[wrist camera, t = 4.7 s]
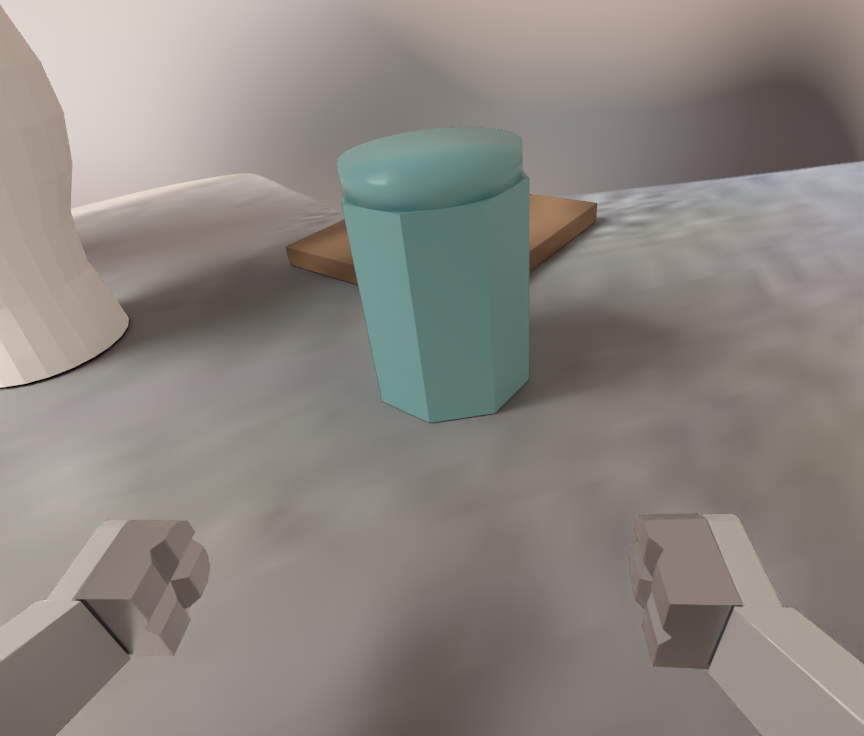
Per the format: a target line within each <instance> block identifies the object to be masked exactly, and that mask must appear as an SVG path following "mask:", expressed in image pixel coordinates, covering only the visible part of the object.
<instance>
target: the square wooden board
mask: <svg viewBox="0 0 864 736" xmlns="http://www.w3.org/2000/svg"><path fill="white" fill-rule="evenodd" d="M596 211H597V203H593V202H585V201H578V200H570V199H562V198H554V197H547V196H538V195H531V194H529V272H530V271H531V270H533V269H534V268H535V267H537V266H538V265H539V264H541V263H542V262H543V261H545V260H546V259H547V258H548V257H550V256H551V255H552V254H554V253H555V252H556V251H558V250H559V249H560V248H562V247H563V246H564V245H566V244H567V243H568V242H569V241H571V240H572V239H573V238H575V237H576V236H577V235H579V234H580V233H581V232H583V231H584V230H585V229H586V228H588V227H589V226H590V225H592V224H593V223H594V222H596ZM286 250H287V253H288V257H289V260H290V264H291V265H294V266H297V267H301V268H304V269H307V270H310V271H314V272H317V273H320V274H324V275H327V276H330V277H334V278H337V279H340V280H344V281H347V282H350V283H353V284H357V285H358V282H357V277H356V272H355V267H354V262H353V258H352V253H351V248H350V243H349V238H348V233H347V228H346V224H345V219H344V220H342V221H340V222H338V223H336V224H334V225H332V226H329V227H327V228H325V229H323V230H321V231H319V232H316V233H314V234H312V235H310V236H308V237H306V238H303V239H301V240H299V241H297V242H295V243H293V244H291V245H288V246H286Z"/></svg>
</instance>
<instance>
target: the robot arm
mask: <svg viewBox="0 0 864 736" xmlns="http://www.w3.org/2000/svg"><path fill="white" fill-rule="evenodd" d="M634 531H635V534H636V538H637V541H636V542H634V543H633V544H632V545H631V548H630V556H629V563H630V577H631V583H632V588H633V592H634V596H635V600H636V601H637V602H638V603H639V604H640V605H641V606H642V607H643V608H644V609H645V615H644V619H643V624H642V627H643V631H644V635H645V639H646V642H647V646H648V650H649V654H650V658H651V661H652V665H653V666H656V667H676V668H697V669H709V670H708V673H709V674H710V675H711V676H712V677H713V679H714V680H715V681H716V682H717V683H718V684H719V686H720V687H721V688H722V689H723V690H724V691H725V693H726V694H727V695H728V696H729V697H730V699H731V700H732V701H733V702H734V703H735V704H736V706H737V707H738V708H739V709H740V710H741V711H742V713H743V714H744V715H745V716H746V717H747V718H748V720H749V721H750V722H751V723H752V724H753V726H754V727H755V728H756V729H757V730H758V731H759V733H760V734H761V735H762V736H864V664H863V663H862V662H861V661H859V660H858V659H857V658H856V657H854V656H853V655H852V654H851V653H850V652H848V651H847V650H846V649H845V648H843V647H842V646H841V645H840V644H838V643H837V642H836V641H835V640H833V639H832V638H831V637H830V636H828V635H827V634H826V633H825V632H824V631H822V630H821V629H820V628H819V627H817V626H816V625H815V624H814V623H812V622H811V621H810V620H809V619H807V618H806V617H805V616H804V615H802V614H801V613H800V612H799V611H797V610H796V609H795V608H793V607H783V605H782V603H781V601H780V599H779V597H778V595H777V593H776V591H775V589H774V587H773V585H772V583H771V581H770V579H769V577H768V575H767V573H766V571H765V569H764V567H763V565H762V563H761V561H760V559H759V557H758V555H757V553H756V551H755V549H754V547H753V545H752V543H751V541H750V539H749V537H748V535H747V533H746V531H745V529H744V527H743V525H742V523H741V521H740V519H739V518H737V517H736V516H735V515H734V514H700V515H699V514H698V513H696V514H655V515H638V517H637V518H636V521H635V526H634ZM194 533H195V531H194V529H193V528H192V526H191V525H190V523H189V522H188V521H169V520H107V521H106V522H104V523H103V524H101V525H100V526H98V527H97V529H96V530H95V532H94V533H93V534H92V536H91V537H90V539H89V540H88V541H87V543H86V544H85V546H84V547H83V548H82V550H81V551H80V553H79V554H78V555H77V557H76V558H75V560H74V561H73V562H72V564H71V565H70V567H69V568H68V570H67V571H66V572H65V574H64V575H63V577H62V578H61V579H60V581H59V582H58V584H57V585H56V586H55V588H54V589H53V591H52V592H51V593H50V595H49V596H48V598H47V599H46V600H38V601H36V602H35V603H34V604H32V605H31V606H29V607H28V608H26V609H25V610H24V611H22V612H21V613H19V614H18V615H17V616H15V617H14V618H12V619H11V620H10V621H8V622H7V623H5V624H4V625H3V626H1V627H0V736H56V734H57V733H58V732H59V731H60V730H61V729H62V728H63V727H64V726H65V725H66V724H67V723H68V722H69V721H70V720H71V719H72V718H73V717H74V716H75V715H76V714H77V713H78V712H79V711H80V710H81V709H82V708H83V707H84V706H85V705H86V704H87V703H88V702H89V701H90V700H91V699H92V698H93V697H94V696H95V695H96V694H97V693H98V692H99V691H100V690H101V689H102V687H103V686H104V685H105V684H106V683H107V682H108V681H109V680H110V679H111V678H112V677H113V676H114V675H115V674H116V673H117V672H118V671H119V670H120V669H121V668H122V667H123V666H124V665H125V664H126V663H127V662H128V661H129V660H130V657H129V656H174V655H175V653H176V651H177V649H178V646H179V644H180V642H181V640H182V638H183V636H184V633H185V631H186V629H187V627H188V625H189V622H190V620H191V618H190V614H189V609H188V608H189V607H190V606H191V605H192V604H193V603H195V602H196V601H197V600H198V599H199V598H200V597H201V596H202V594H203V591H204V589H205V587H206V584H207V582H208V576H209V569H210V563H209V558H208V554H207V552H206V550H205V548H204V547H203V546H202V545H200V544H199V543H197V542H195V541H194V540H192V537H193V535H194Z"/></svg>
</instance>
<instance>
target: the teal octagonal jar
mask: <svg viewBox="0 0 864 736" xmlns="http://www.w3.org/2000/svg"><path fill="white" fill-rule="evenodd" d="M337 167H338V172H339V176H340V182H341V187H342V191H343V196H342V209H343V214H344V219H345V224H346V228H347V233H348V238H349V243H350V248H351V253H352V258H353V262H354V267H355V272H356V277H357V282H358V287H359V292H360V296H361V301H362V306H363V311H364V316H365V321H366V326H367V330H368V335H369V340H370V345H371V350H372V355H373V360H374V364H375V369H376V374H377V379H378V384H379V389H380V394H381V398H382V401H383V402H386V403H388V404H390V405H392V406H394V407H396V408H399V409H401V410H403V411H405V412H407V413H409V414H411V415H414V416H416V417H418V418H420V419H422V420H424V421H427V422H429V423H433V422H440V421H446V420H453V419H460V418H467V417H473V416H480V415H487V414H493V413H496V412H497V411H498V410H499V409H500V408H501V407H502V406H503V405H504V404H505V403H506V402H507V401H508V400H509V399H510V398H511V397H512V396H513V395H514V394H515V393H516V392H517V391H518V390H519V389H520V388H521V387H522V386H523V385H524V384H525V383H526V382H527V381H528V380H529V177H528V176H527V175H526V174H525V173H524V172H523V171H522V139H521V137H520V136H518V135H517V134H515V133H512V132H509V131H505V130H501V129H494V128H485V127H451V128H437V129H428V130H421V131H413V132H407V133H401V134H397V135H392V136H387V137H383V138H380V139H376V140H373V141H370V142H366V143H363V144H361V145H358V146H356V147H354V148H351V149H349V150H348V151H346V152H344V153H343V154H342V155H341V156H340V157H339V158H338V160H337Z"/></svg>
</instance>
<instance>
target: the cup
mask: <svg viewBox="0 0 864 736" xmlns="http://www.w3.org/2000/svg"><path fill="white" fill-rule="evenodd" d="M71 184H72V159H71V153H70V147H69V142H68V136H67V131H66V124H65V118H64V112H63V110H62V108H61V105H60V103H59V101H58V99H57V97H56V95H55V93H54V90H53V88H52V86H51V84H50V81H49V79H48V77H47V75H46V73H45V71H44V69H43V66H42V64H41V62H40V60H39V59H38V58H37V56H36V55H35V53H34V52H33V51H32V49H31V48H30V46H29V45H28V43H27V42H26V41H25V39H24V38H23V36H22V35H21V34H20V32H19V31H18V29H17V28H16V27H15V25H14V24H13V23H12V21H11V20H10V18H9V17H8V15H7V14H6V13H5V11H4V10H3V8H2V7H1V5H0V387H9V386H15V385H21V384H27V383H30V382H34V381H37V380H41V379H44V378H48V377H51V376H54V375H56V374H59V373H61V372H64V371H66V370H69V369H72V368H74V367H76V366H78V365H80V364H82V363H84V362H86V361H88V360H90V359H92V358H94V357H95V356H97V355H98V354H100V353H101V352H103V351H104V350H106V349H107V348H109V347H110V346H111V345H112V344H114V343H115V342H116V341H117V340H118V339H119V338H120V337H121V336H122V335H123V333H124V332H125V330H126V329H127V327H128V323H129V318H128V316H127V315H126V313H125V312H124V310H123V309H122V307H121V306H120V304H119V303H118V301H117V300H116V298H115V297H114V295H113V294H112V292H111V291H110V290H109V288H108V287H107V286H106V284H105V283H104V282H103V280H102V279H101V278H100V276H99V275H98V274H97V273H96V271H95V270H94V269H93V267H92V266H91V265H90V263H89V262H88V260H87V257H86V255H85V252H84V249H83V246H82V243H81V240H80V237H79V234H78V232H77V229H76V226H75V223H74V220H73V217H72V214H71V186H72V185H71Z"/></svg>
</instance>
